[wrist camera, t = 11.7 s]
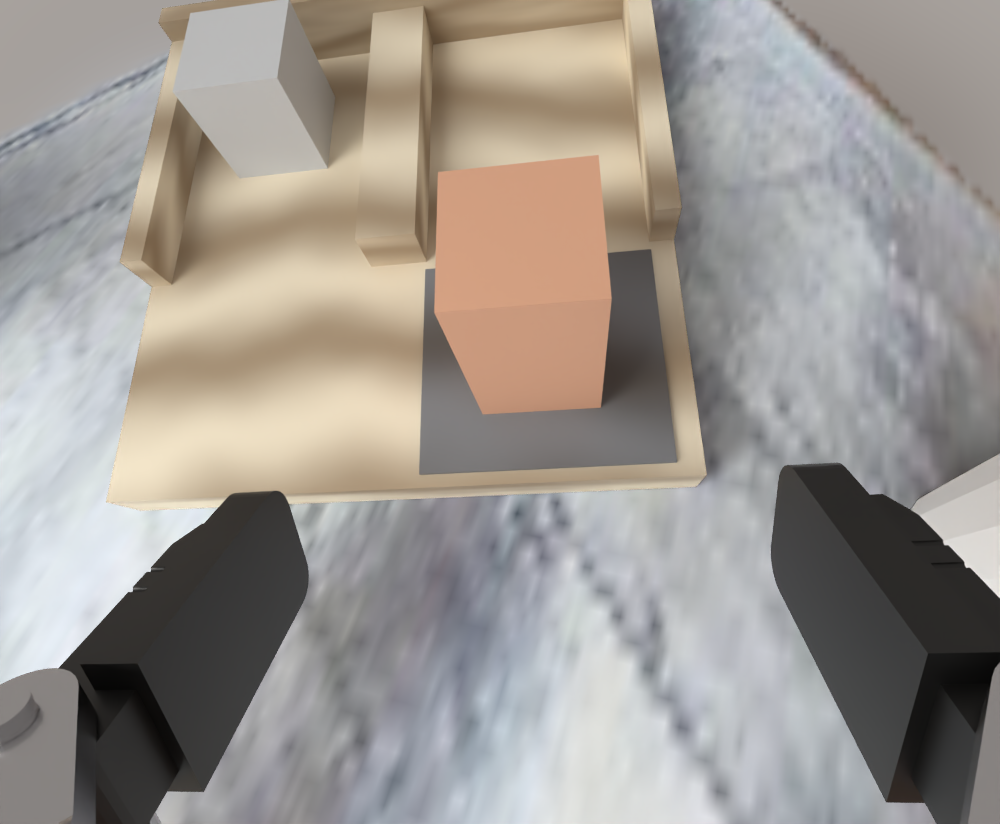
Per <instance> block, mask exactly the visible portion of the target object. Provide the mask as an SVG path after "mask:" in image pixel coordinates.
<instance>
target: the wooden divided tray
mask: <svg viewBox="0 0 1000 824" xmlns="http://www.w3.org/2000/svg"><path fill="white" fill-rule="evenodd" d="M269 1H276V0H215V1H209V2H202V3H195V4H188V5H182V6H175V7H168V8H162V12H161V15H160V19H159V24H160V26H161V27H162V29H163V30H164V31H165V32H166V34H167V36H168V37H169V38H170V40H171V41H172V44H171V48H170V52H169V56H168V61H167V65H166V69H165V73H164V77H163V82H162V86H161V90H160V94H159V99H158V103H157V107H156V111H155V115H154V120H153V124H152V128H151V132H150V136H149V141H148V145H147V149H146V153H145V157H144V162H143V166H142V170H141V174H140V179H139V183H138V187H137V191H136V195H135V200H134V204H133V208H132V212H131V216H130V221H129V225H128V229H127V233H126V238H125V242H124V246H123V250H122V254H121V259H120V263H121V264H123V265H124V266H125V267H127V268H128V269H129V270H131V271H132V272H133V273H134V274H136V275H137V276H138V277H140V278H141V279H142V280H143V281H145V282H146V283H147V284H149V285H150V286H151V287H152V288H151V293H150V297H149V302H148V307H147V311H146V316H145V321H144V326H143V330H142V335H141V340H140V344H139V349H138V354H137V359H136V363H135V368H134V373H133V377H132V382H131V387H130V392H129V396H128V401H127V406H126V410H125V415H124V420H123V425H122V429H121V434H120V439H119V443H118V448H117V453H116V458H115V462H114V467H113V472H112V476H111V481H110V486H109V491H108V495H107V500H106V502H108V503H112V504H116V505H120V506H124V507H128V508H132V509H136V510H140V511H144V510H167V509H191V508H214V507H219V506H220V505H221V504H222V503H223V502H224V501H225V499H226V498H227V497H228V496H229V495H231V494H233V493H240V492H259V491H280V492H281V493H283V494H284V496H285V497H286V499H287V501H288V504H308V503H331V502H354V501H378V500H401V499H425V498H448V497H471V496H495V495H518V494H542V493H565V492H588V491H612V490H635V489H658V488H682V487H697V486H698V484H699V483H700V482H701V481H702V480H703V479H704V478H705V476H706V475H707V473H706V466H705V459H704V452H703V445H702V437H701V430H700V423H699V416H698V409H697V402H696V394H695V387H694V380H693V373H692V366H691V359H690V351H689V344H688V337H687V330H686V323H685V316H684V308H683V301H682V294H681V287H680V280H679V272H678V265H677V258H676V251H675V244H674V237H675V233H676V229H677V225H678V221H679V217H680V213H681V209H682V206H681V199H680V192H679V185H678V179H677V172H676V165H675V158H674V152H673V145H672V138H671V131H670V125H669V118H668V111H667V104H666V98H665V91H664V84H663V77H662V71H661V64H660V57H659V50H658V44H657V37H656V30H655V23H654V17H653V10H652V3H651V0H290V2H291V4H292V6H293V8H294V10H295V12H296V15H297V17H298V19H299V21H300V23H301V25H302V27H303V29H304V32H305V34H306V36H307V38H308V40H309V42H310V44H311V47H312V49H313V51H314V53H315V55H316V57H317V59H318V61H319V64H320V66H321V68H322V70H323V72H324V74H325V76H326V78H327V81H328V83H329V85H330V87H331V89H332V91H333V93H334V95H335V104H334V114H333V124H332V133H331V143H330V153H329V163H328V168H327V169H318V170H309V171H301V172H292V173H283V174H274V175H265V176H256V177H247V178H239V177H238V176H237V174H236V173H235V172H234V170H233V169H232V168H231V167H230V165H229V164H228V163H227V161H226V160H225V159H224V157H223V156H222V155H221V154H220V152H219V151H218V150H217V148H216V147H215V146H214V145H213V143H212V142H211V141H210V139H209V138H208V137H207V136H206V134H205V133H204V132H203V130H202V129H201V128H200V126H199V125H198V124H197V123H196V121H195V120H194V119H193V117H192V116H191V115H190V114H189V112H188V111H187V110H186V108H185V107H184V106H183V105H182V103H181V102H180V101H179V99H178V98H177V97H176V95H175V94H174V93H173V87H174V83H175V79H176V74H177V70H178V65H179V61H180V57H181V52H182V48H183V44H184V39H185V35H186V30H187V26H188V22H189V17H190V13H195V12H201V11H208V10H215V9H222V8H228V7H235V6H242V5H249V4H255V3H262V2H269ZM593 155H599V165H600V176H601V187H602V198H603V209H604V220H605V231H606V242H607V253H608V264H609V275H610V286H611V297H612V300H611V310H610V320H609V330H608V340H607V351H606V361H605V371H604V381H603V391H602V401H601V408H587V409H569V410H552V411H534V412H517V413H500V414H482V412H481V410H480V408H479V405H478V403H477V401H476V399H475V397H474V395H473V393H472V391H471V389H470V387H469V384H468V382H467V380H466V378H465V376H464V374H463V372H462V370H461V368H460V366H459V363H458V361H457V359H456V357H455V355H454V353H453V351H452V349H451V347H450V345H449V343H448V340H447V338H446V336H445V334H444V332H443V330H442V328H441V326H440V324H439V322H438V319H437V317H436V315H435V313H434V304H435V265H436V226H437V187H438V172H444V171H453V170H462V169H472V168H481V167H490V166H500V165H509V164H518V163H527V162H537V161H546V160H555V159H565V158H574V157H583V156H593Z"/></svg>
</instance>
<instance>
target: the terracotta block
mask: <svg viewBox="0 0 1000 824" xmlns="http://www.w3.org/2000/svg"><path fill="white" fill-rule="evenodd" d="M611 300H612V297H611V286H610V275H609V264H608V253H607V242H606V231H605V220H604V209H603V198H602V187H601V176H600V165H599V155H593V156H583V157H574V158H565V159H555V160H546V161H537V162H527V163H518V164H509V165H500V166H490V167H481V168H472V169H462V170H453V171H444V172H438V187H437V226H436V265H435V304H434V313H435V315H436V317H437V319H438V322H439V324H440V326H441V328H442V330H443V332H444V334H445V336H446V338H447V340H448V343H449V345H450V347H451V349H452V351H453V353H454V355H455V357H456V359H457V361H458V363H459V366H460V368H461V370H462V372H463V374H464V376H465V378H466V380H467V382H468V384H469V387H470V389H471V391H472V393H473V395H474V397H475V399H476V401H477V403H478V405H479V408H480V410H481V412H482V414H500V413H517V412H534V411H552V410H569V409H587V408H601V401H602V391H603V381H604V371H605V361H606V351H607V340H608V330H609V320H610V310H611Z"/></svg>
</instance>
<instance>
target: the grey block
mask: <svg viewBox="0 0 1000 824" xmlns="http://www.w3.org/2000/svg"><path fill="white" fill-rule="evenodd" d="M173 93H174V94H175V95H176V97H177V98H178V99H179V101H180V102H181V103H182V105H183V106H184V107H185V108H186V110H187V111H188V112H189V114H190V115H191V116H192V117H193V119H194V120H195V121H196V123H197V124H198V125H199V126H200V128H201V129H202V130H203V132H204V133H205V134H206V136H207V137H208V138H209V139H210V141H211V142H212V143H213V145H214V146H215V147H216V148H217V150H218V151H219V152H220V154H221V155H222V156H223V157H224V159H225V160H226V161H227V163H228V164H229V165H230V167H231V168H232V169H233V170H234V172H235V173H236V174H237V176H238V177H239V178H247V177H256V176H265V175H274V174H283V173H292V172H301V171H309V170H318V169H327V168H328V163H329V153H330V143H331V133H332V124H333V114H334V104H335V95H334V93H333V91H332V89H331V87H330V85H329V83H328V81H327V78H326V76H325V74H324V72H323V70H322V68H321V66H320V64H319V61H318V59H317V57H316V55H315V53H314V51H313V49H312V47H311V44H310V42H309V40H308V38H307V36H306V34H305V32H304V29H303V27H302V25H301V23H300V21H299V19H298V17H297V15H296V12H295V10H294V8H293V6H292V4H291V2H290V0H276V1H269V2H262V3H255V4H249V5H242V6H235V7H228V8H222V9H215V10H208V11H201V12H195V13H190V17H189V22H188V26H187V30H186V35H185V39H184V44H183V48H182V52H181V57H180V61H179V65H178V70H177V74H176V79H175V83H174V87H173Z"/></svg>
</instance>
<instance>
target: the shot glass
mask: <svg viewBox="0 0 1000 824" xmlns="http://www.w3.org/2000/svg"><path fill="white" fill-rule="evenodd" d="M911 511H913V512H915V513H917V514H918V515H920V516H921V518H922V519H923V520H924V521H925V522H926V523H927V524H928V525H929V526H930V527H931V528H932V529H933V530H934V531H935V532H936V533H937V534H938V535H939V536H940V537H941V538H942V539H943V543H944V545H949V546H950V547H951V548H952V549H953V550H954V551H955V553H956V554H957V555H958V556H959V557H960V558H961V559H962V560H963V561H964V564H965V567H966V568H971V569H972V570H973V571H974V572H975V573H976V574H977V575H978V576H979V577H980V578H981V579H982V580H983V581H984V582H985V583H986V584H987V585H988V586H989V588H990V589H991V590H992V591H993V592H994V593H995V594H996V595H997V596H998V597H999V598H1000V454H998V455H996V456H994V457H992V458H991V459H989V460H987V461H985V462H983V463H982V464H980V465H978V466H976V467H974V468H973V469H971V470H969V471H967V472H965V473H964V474H962V475H960V476H958V477H956V478H955V479H953V480H951V481H949V482H947V483H946V484H944V485H942V486H940V487H939V488H937V489H935V490H933V491H932V492H930V493H928V494H926V495H925V496H923V497H921V498H920V499H918V500H917V501H916V503H915V505H914V506H913V508H912V509H911Z"/></svg>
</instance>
